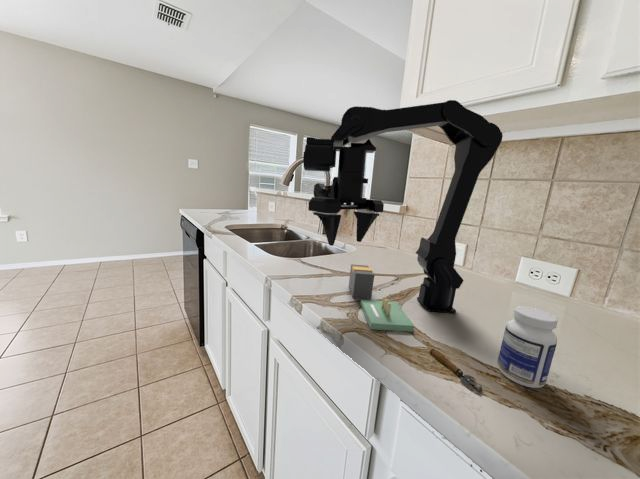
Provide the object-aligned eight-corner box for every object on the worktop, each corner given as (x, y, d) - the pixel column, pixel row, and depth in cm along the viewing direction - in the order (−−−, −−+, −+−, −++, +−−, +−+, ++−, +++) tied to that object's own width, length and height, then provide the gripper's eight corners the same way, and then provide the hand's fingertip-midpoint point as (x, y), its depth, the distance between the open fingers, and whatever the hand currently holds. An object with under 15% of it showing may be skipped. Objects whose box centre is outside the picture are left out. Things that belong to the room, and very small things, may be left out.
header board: (360, 304, 56) (362, 288, 55) (395, 307, 56) (398, 291, 56) (370, 329, 46) (373, 310, 46) (413, 331, 47) (416, 313, 46)
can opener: (428, 354, 41) (429, 347, 41) (440, 353, 41) (441, 346, 41) (475, 399, 32) (477, 391, 32) (489, 397, 33) (491, 389, 33)
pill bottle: (522, 362, 40) (537, 305, 38) (556, 391, 35) (576, 324, 33) (487, 360, 40) (501, 302, 38) (515, 389, 34) (534, 322, 32)
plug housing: (348, 286, 66) (351, 263, 65) (365, 287, 66) (368, 264, 65) (352, 297, 59) (355, 272, 58) (371, 298, 60) (374, 273, 58)
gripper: (352, 176, 67) (347, 234, 70) (294, 169, 55) (291, 240, 58) (388, 176, 59) (381, 242, 62) (329, 168, 46) (324, 250, 49)
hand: (345, 243), depth 58 cm, fingers open, 9 cm apart
